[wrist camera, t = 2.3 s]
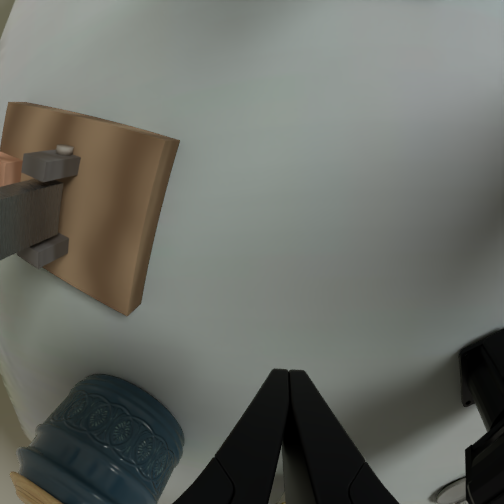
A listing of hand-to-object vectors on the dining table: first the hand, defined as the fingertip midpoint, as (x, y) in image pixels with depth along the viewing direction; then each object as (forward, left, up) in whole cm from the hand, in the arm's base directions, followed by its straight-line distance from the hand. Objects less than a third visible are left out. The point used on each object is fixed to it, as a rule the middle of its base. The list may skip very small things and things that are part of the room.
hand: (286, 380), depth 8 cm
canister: (-11, +23, -12) cm, 28 cm away
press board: (+10, +13, -11) cm, 20 cm away
